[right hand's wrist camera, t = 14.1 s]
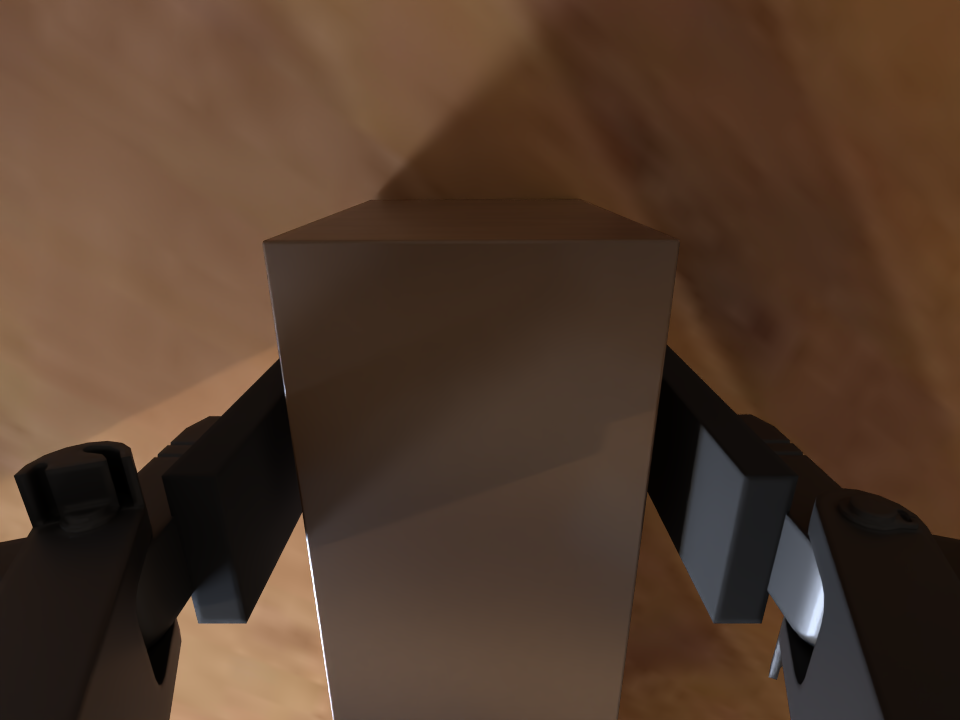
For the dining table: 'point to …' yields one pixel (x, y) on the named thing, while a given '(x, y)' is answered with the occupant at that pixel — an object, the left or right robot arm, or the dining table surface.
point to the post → (473, 447)
